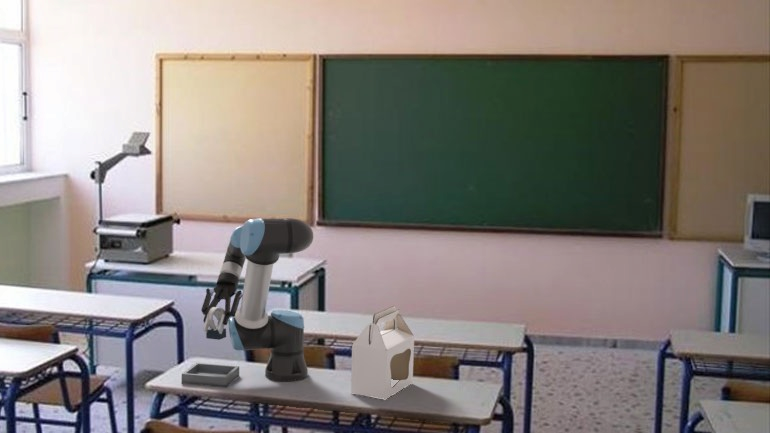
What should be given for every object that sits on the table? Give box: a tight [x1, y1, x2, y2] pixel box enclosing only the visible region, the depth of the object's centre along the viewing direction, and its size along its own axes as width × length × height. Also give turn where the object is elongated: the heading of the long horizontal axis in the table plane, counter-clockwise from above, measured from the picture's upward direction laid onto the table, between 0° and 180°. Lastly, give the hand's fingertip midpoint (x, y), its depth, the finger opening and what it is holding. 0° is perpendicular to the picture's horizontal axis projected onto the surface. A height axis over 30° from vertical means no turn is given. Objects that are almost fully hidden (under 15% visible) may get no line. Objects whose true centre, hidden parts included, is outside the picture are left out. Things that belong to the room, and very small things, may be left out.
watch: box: [205, 306, 227, 341], centre depth 335 cm, size 6×8×11 cm
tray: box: [181, 362, 240, 388], centre depth 329 cm, size 16×14×4 cm
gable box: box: [350, 305, 415, 399], centre depth 323 cm, size 22×13×28 cm, turn 154°
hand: (212, 331), depth 331 cm, fingers closed on watch, 5 cm apart
